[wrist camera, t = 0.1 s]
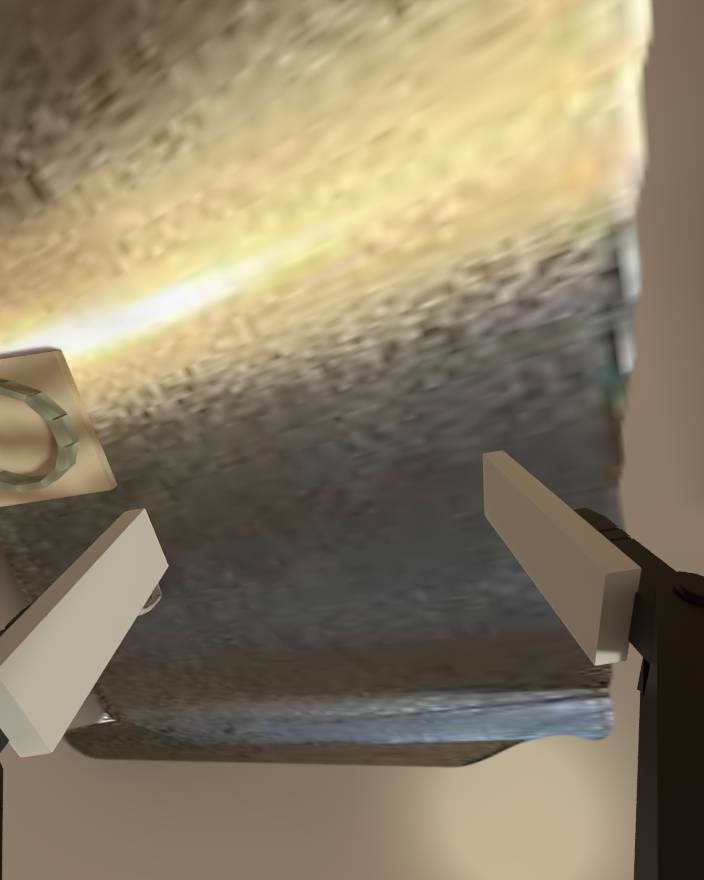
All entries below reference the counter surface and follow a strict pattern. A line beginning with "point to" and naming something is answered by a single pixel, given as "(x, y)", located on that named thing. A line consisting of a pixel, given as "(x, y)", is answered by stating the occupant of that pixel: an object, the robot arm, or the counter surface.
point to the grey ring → (152, 600)
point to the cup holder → (46, 433)
